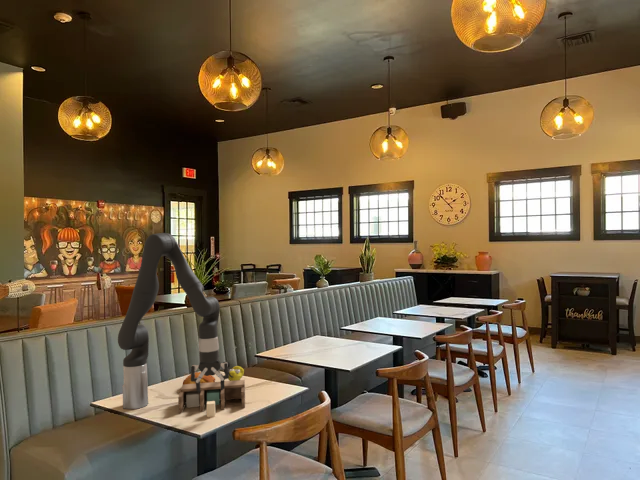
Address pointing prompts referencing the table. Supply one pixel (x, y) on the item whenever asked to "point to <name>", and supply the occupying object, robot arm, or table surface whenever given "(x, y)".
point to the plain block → (193, 399)
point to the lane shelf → (229, 392)
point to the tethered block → (212, 401)
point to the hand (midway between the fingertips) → (210, 390)
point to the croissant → (203, 380)
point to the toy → (235, 373)
